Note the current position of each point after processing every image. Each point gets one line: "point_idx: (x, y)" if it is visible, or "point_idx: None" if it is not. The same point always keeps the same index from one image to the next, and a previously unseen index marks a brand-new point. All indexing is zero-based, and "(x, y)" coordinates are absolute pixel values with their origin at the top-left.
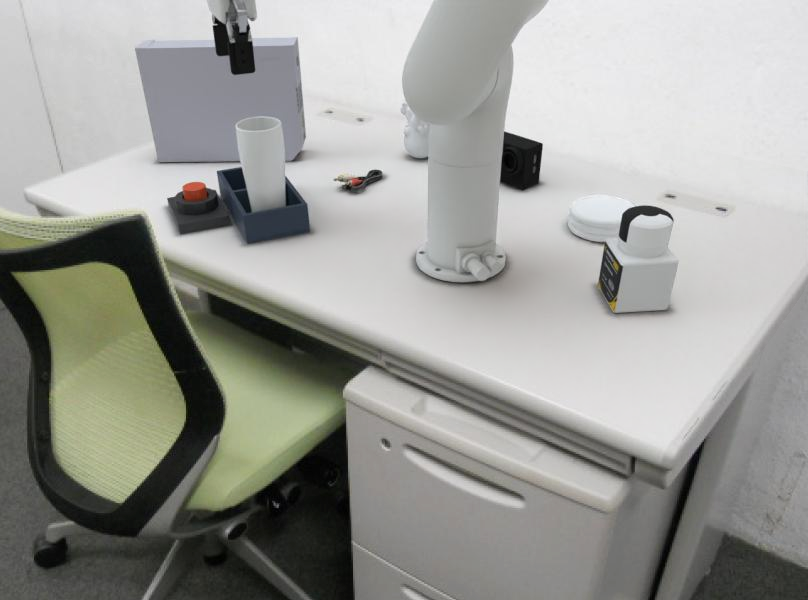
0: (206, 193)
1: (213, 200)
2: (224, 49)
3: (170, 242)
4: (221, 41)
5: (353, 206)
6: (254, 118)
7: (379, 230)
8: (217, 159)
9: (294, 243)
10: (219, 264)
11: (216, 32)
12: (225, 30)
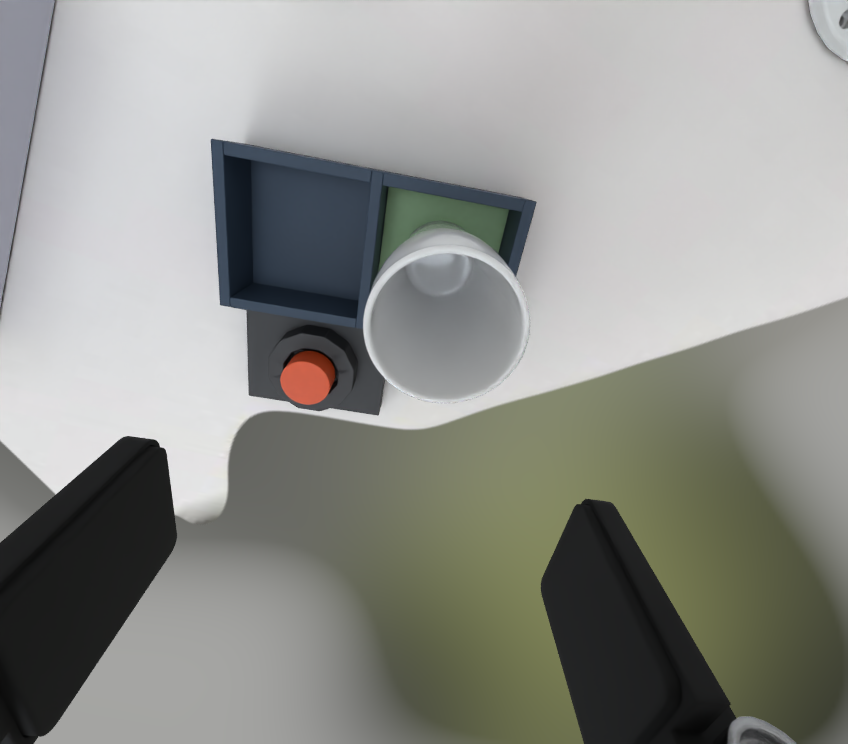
0: (320, 358)
1: (345, 350)
2: (151, 538)
3: (399, 425)
4: (119, 596)
5: (459, 5)
6: (371, 315)
7: (626, 27)
8: (12, 210)
9: (541, 250)
10: (522, 391)
11: (74, 687)
12: (46, 649)
